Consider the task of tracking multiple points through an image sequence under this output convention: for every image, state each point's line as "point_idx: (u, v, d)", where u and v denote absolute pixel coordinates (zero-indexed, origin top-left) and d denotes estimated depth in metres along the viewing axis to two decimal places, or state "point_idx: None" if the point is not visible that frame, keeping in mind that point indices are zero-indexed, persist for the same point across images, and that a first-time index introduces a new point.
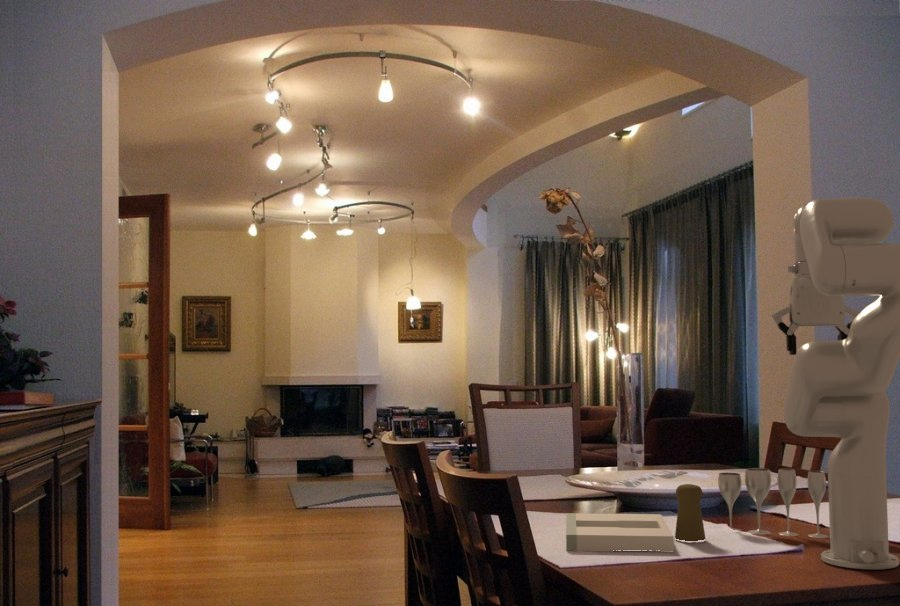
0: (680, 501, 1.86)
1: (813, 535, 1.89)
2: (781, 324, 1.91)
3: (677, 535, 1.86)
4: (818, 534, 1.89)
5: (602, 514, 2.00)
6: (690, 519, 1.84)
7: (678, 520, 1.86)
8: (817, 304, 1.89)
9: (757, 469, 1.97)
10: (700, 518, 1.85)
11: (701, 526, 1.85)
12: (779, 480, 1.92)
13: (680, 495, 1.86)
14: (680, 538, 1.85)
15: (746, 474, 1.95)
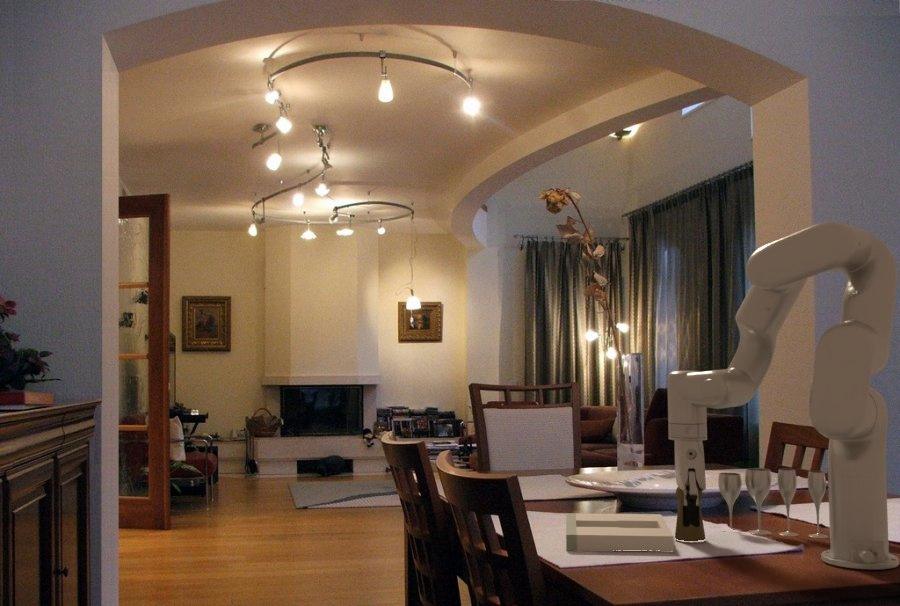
0: (680, 501, 1.86)
1: (813, 535, 1.89)
2: (696, 496, 1.82)
3: (677, 535, 1.86)
4: (818, 534, 1.89)
5: (602, 514, 2.00)
6: None
7: (678, 520, 1.86)
8: None
9: (757, 469, 1.97)
10: (700, 518, 1.85)
11: (701, 526, 1.85)
12: (779, 480, 1.92)
13: (680, 495, 1.85)
14: (680, 538, 1.85)
15: (746, 474, 1.95)
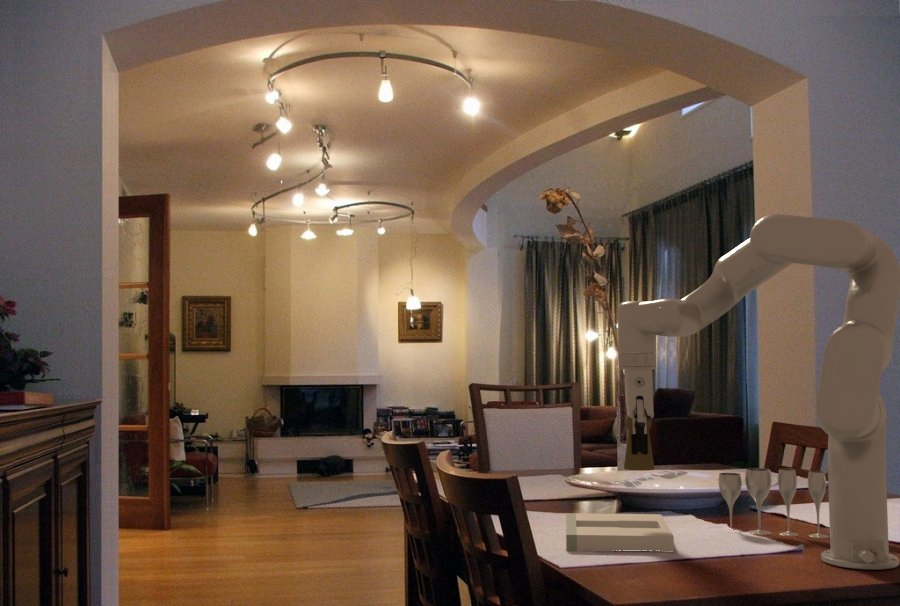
0: (629, 430, 1.88)
1: (813, 535, 1.89)
2: (644, 423, 1.84)
3: (626, 463, 1.88)
4: (818, 534, 1.89)
5: (602, 514, 2.00)
6: None
7: (627, 448, 1.88)
8: None
9: (757, 469, 1.97)
10: (648, 446, 1.87)
11: (649, 454, 1.87)
12: (779, 480, 1.92)
13: (629, 423, 1.87)
14: (629, 466, 1.87)
15: (746, 474, 1.94)
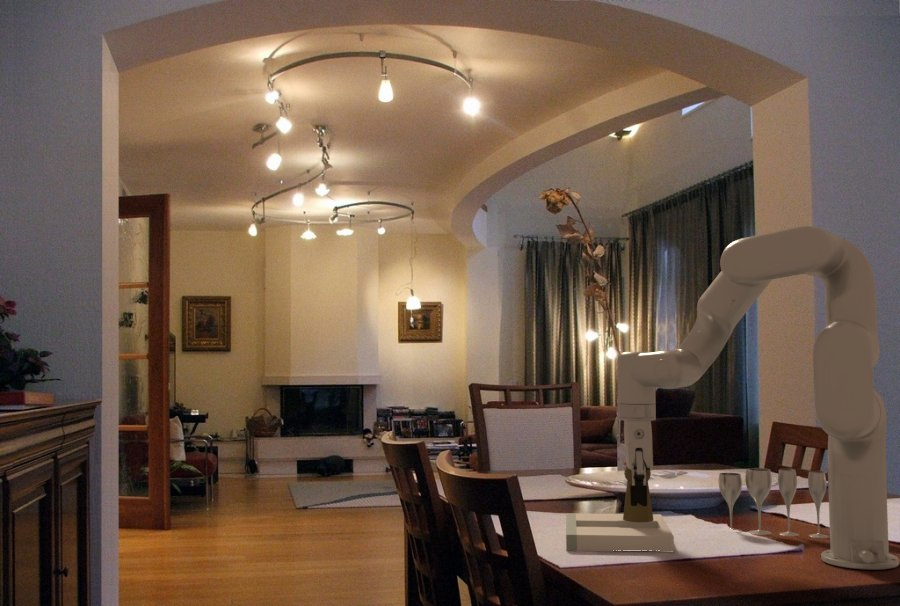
0: (629, 481, 1.88)
1: (814, 535, 1.89)
2: (644, 475, 1.84)
3: (625, 514, 1.87)
4: (819, 534, 1.89)
5: (602, 514, 2.00)
6: None
7: (626, 499, 1.88)
8: None
9: (757, 470, 1.97)
10: (648, 497, 1.87)
11: (649, 505, 1.86)
12: (780, 480, 1.92)
13: (628, 474, 1.87)
14: (628, 517, 1.86)
15: (746, 474, 1.94)
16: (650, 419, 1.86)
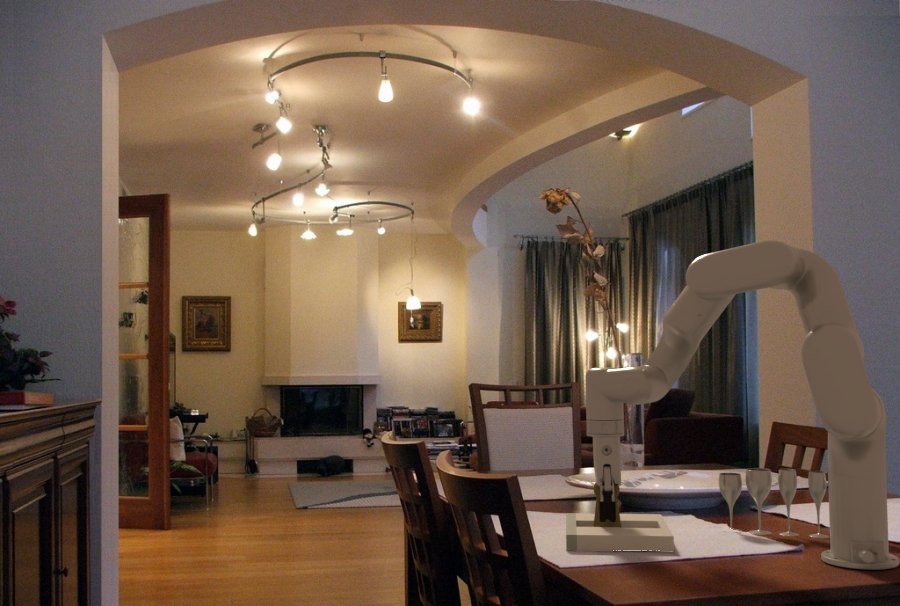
0: (598, 497, 1.88)
1: (814, 535, 1.89)
2: (612, 491, 1.84)
3: None
4: (819, 534, 1.89)
5: None
6: None
7: (595, 515, 1.88)
8: None
9: (757, 470, 1.97)
10: (617, 513, 1.87)
11: (618, 521, 1.87)
12: (780, 480, 1.92)
13: (597, 490, 1.87)
14: None
15: (747, 474, 1.94)
16: (618, 435, 1.87)
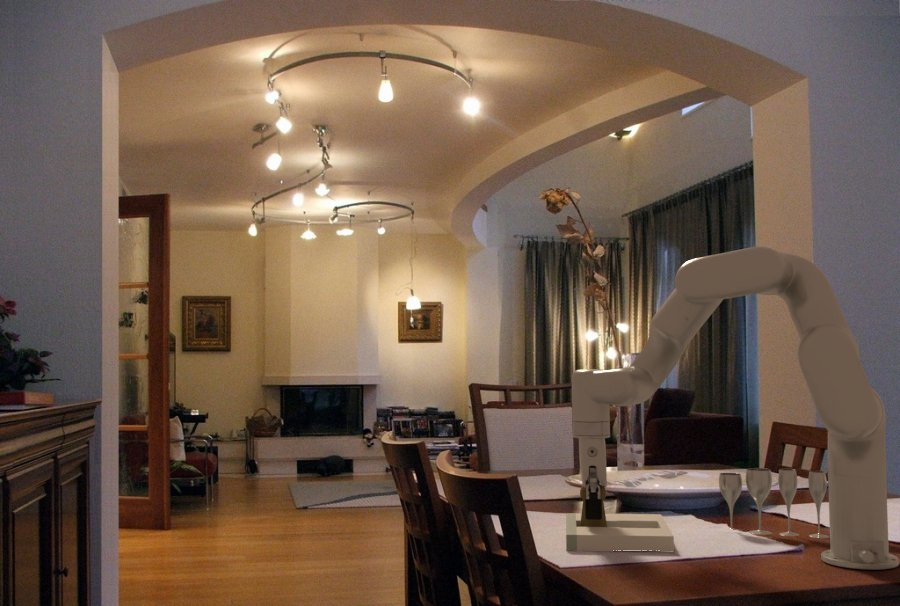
0: (584, 500, 1.88)
1: (814, 535, 1.89)
2: (598, 489, 1.82)
3: None
4: (819, 534, 1.89)
5: None
6: None
7: (582, 519, 1.88)
8: None
9: (758, 470, 1.97)
10: (603, 517, 1.87)
11: (604, 525, 1.87)
12: (780, 480, 1.92)
13: (584, 494, 1.88)
14: None
15: (747, 474, 1.94)
16: (604, 437, 1.87)
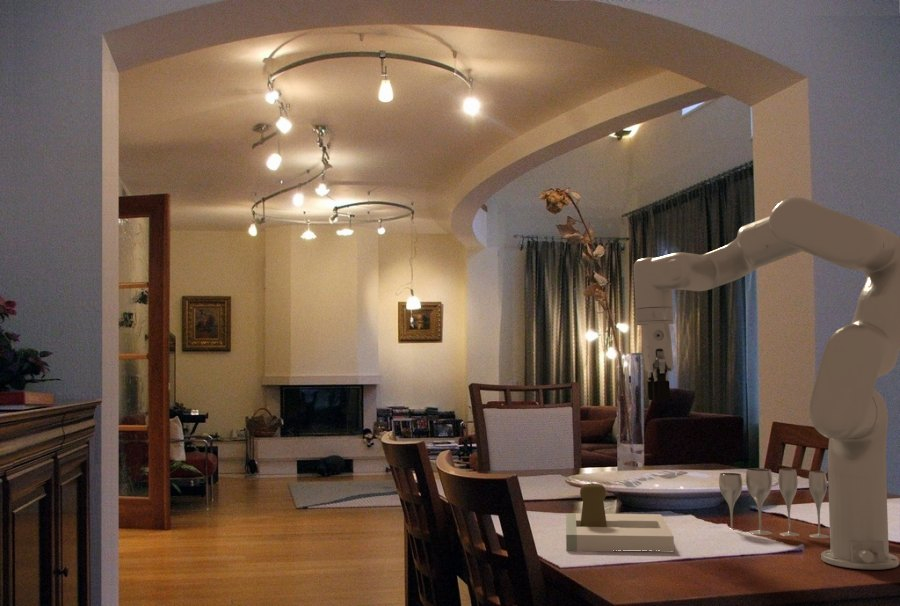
0: (584, 500, 1.88)
1: (814, 535, 1.89)
2: (666, 370, 1.85)
3: None
4: (819, 534, 1.89)
5: None
6: (592, 518, 1.87)
7: (582, 519, 1.88)
8: None
9: (758, 470, 1.97)
10: (603, 517, 1.87)
11: (604, 525, 1.87)
12: (780, 480, 1.92)
13: (584, 494, 1.88)
14: None
15: (747, 474, 1.94)
16: (668, 321, 1.90)
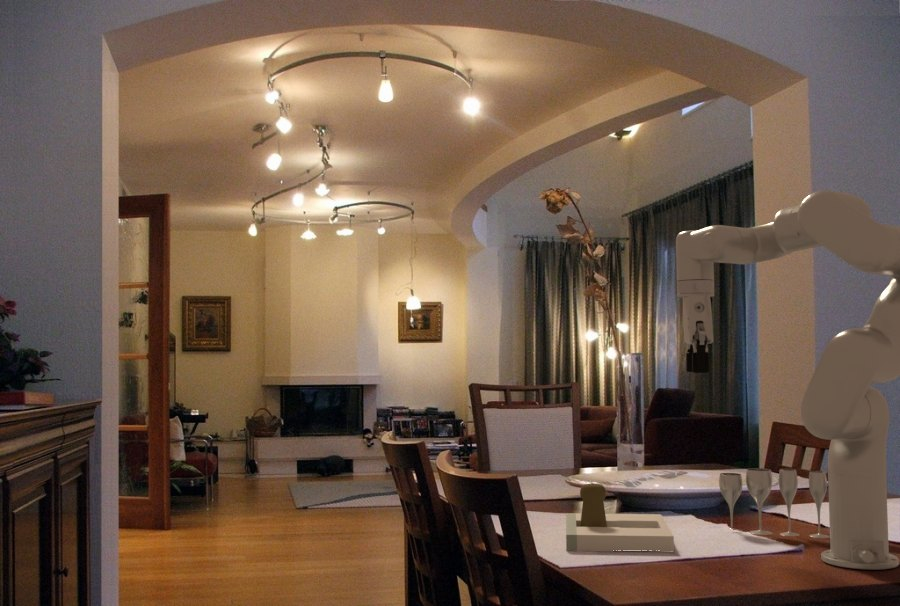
0: (584, 500, 1.88)
1: (814, 535, 1.89)
2: (706, 341, 1.87)
3: None
4: (819, 534, 1.89)
5: None
6: (592, 518, 1.87)
7: (582, 519, 1.88)
8: None
9: (758, 470, 1.97)
10: (603, 517, 1.87)
11: (604, 525, 1.87)
12: (780, 480, 1.92)
13: (584, 494, 1.88)
14: None
15: (747, 474, 1.94)
16: (709, 294, 1.92)
